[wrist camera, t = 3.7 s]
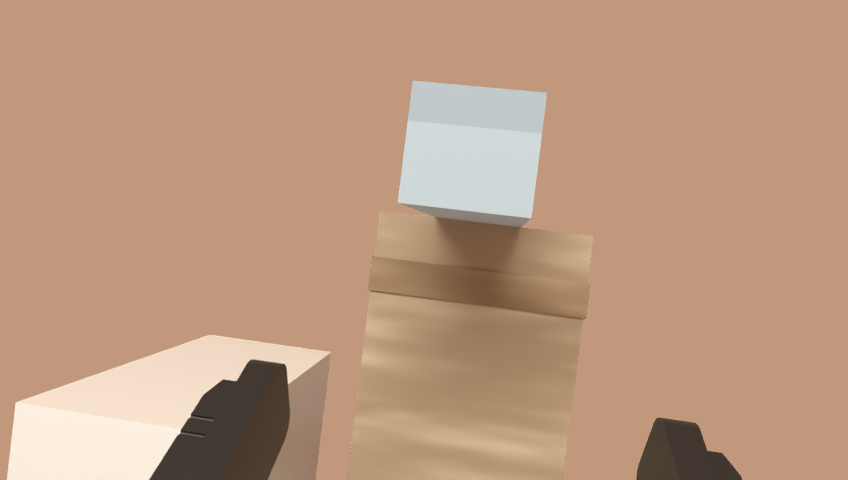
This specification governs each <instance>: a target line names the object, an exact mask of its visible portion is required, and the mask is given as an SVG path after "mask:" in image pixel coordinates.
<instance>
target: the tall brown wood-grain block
mask: <svg viewBox="0 0 848 480" xmlns="http://www.w3.org/2000/svg"><path fill="white" fill-rule="evenodd" d="M592 245H593V236H587V235H579V234H571V233H562V232H554V231H545V230H538V229H529V228H521V227H513V226H504V225H496V224H488V223H480V222H471V221H463V220H455V219H447V218H438V217H430V216H422V215H413V214H405V213H397V212H388V211H380V216H379V224H378V233H377V241H376V249H375V256H372V261H371V269H370V277H369V286H368V290H370V299H369V307H368V314H367V322H366V330H365V338H364V346H363V354H362V363H361V371H360V379H359V387H358V395H357V404H356V412H355V420H354V428H353V436H352V444H351V452H350V461H349V469H348V477H347V480H563V474H564V466H565V458H566V450H567V442H568V434H569V427H570V419H571V410H572V403H573V395H574V387H575V378H576V371H577V363H578V356H579V348H580V340H581V331H582V323H583V318H584V319H586V313H587V305H588V298H589V290H590V284H588V276H589V269H590V261H591V253H592Z"/></svg>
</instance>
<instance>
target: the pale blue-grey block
mask: <svg viewBox="0 0 848 480" xmlns="http://www.w3.org/2000/svg"><path fill="white" fill-rule="evenodd" d="M546 97H547V93H543V92H532V91H521V90H510V89H499V88H488V87H477V86H465V85H454V84H442V83H432V82H421V81H413V84H412V92H411V101H410V108H409V116H408V124H407V133H406V141H405V149H404V157H403V165H402V174H401V181H400V189H399V198H398V203H400V204H402V205H405V206H408V207H410V208H413V209H416V210H419V211H421V212H423V213H426V214H429V215H431V216H434V217H438V218H447V219H455V220H463V221H471V222H480V223H488V224H496V225H504V226H513V227H522V226H523V225H524V224H525V223H526V222H528V221H529V220H530V219H531V217H532V208H533V201H534V192H535V185H536V177H537V168H538V161H539V152H540V145H541V137H542V129H543V121H544V113H545V105H546Z"/></svg>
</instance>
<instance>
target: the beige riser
mask: <svg viewBox="0 0 848 480" xmlns="http://www.w3.org/2000/svg"><path fill="white" fill-rule="evenodd" d="M330 356H331V352H326V351H319V350H312V349H305V348H298V347H291V346H285V345H277V344H271V343H264V342H256V341H250V340H243V339H236V338H229V337H222V336H215V335H207V336H205V337H202V338H199V339H196V340H193V341H190V342H187V343H185V344H182V345H179V346H176V347H173V348H170V349H167V350H164V351H162V352H159V353H156V354H153V355H150V356H147V357H144V358H142V359H139V360H136V361H133V362H130V363H127V364H124V365H122V366H119V367H116V368H113V369H110V370H107V371H104V372H102V373H99V374H96V375H93V376H90V377H88V378H84V379H82V380H79V381H76V382H73V383H70V384H67V385H64V386H62V387H59V388H56V389H53V390H50V391H47V392H45V393H42V394H39V395H36V396H33V397H30V398H27V399H24V400H22V401H19V402H16V407H15V416H14V424H13V432H12V441H11V449H10V458H9V467H8V475H7V480H149V479H150V477H151V476H152V474H153V473H154V471H155V470H156V468H157V466H158V465H159V463H160V462H161V460H162V459H163V457H164V455H165V454H166V452H167V451H168V449H169V448H170V446H171V444H172V443H173V441H174V440H175V438H176V437H177V435H178V434H180V432H181V429H182V427H183V426H184V424H185V423H186V421H187V419H188V418H190V417H191V413H192V412H193V410H194V408H195V407H196V405H197V404H198V402H199V401H200V399H201V398H202V396H203V395H204V394H205V393H206V392H207V391H209V390H210V389H211V388H213V387H214V386H215V385H216V384H218V383H219V382H220V381H222V380H223V379H225V380H231V381H237V380H238V378H239V376H240V375H241V373H242V371H243V369H244V368H245V366H246V364H247V363H248V362H249V361H250V360H251V359H255V360H262V361H268V362H275V363H282V364H285V365H286V368H287V378H288V392H289V405H290V421H289V427H288V431H287V435H286V438H285V441H284V443H283V445H282V448H281V450H280V452H279V455H278V457H277V459H276V462H275V464H274V466H273V468H272V471H271V473H270V475H269V478H268V480H315V479H316V471H317V462H318V454H319V445H320V437H321V430H322V421H323V413H324V405H325V397H326V389H327V379H328V372H329V363H330Z"/></svg>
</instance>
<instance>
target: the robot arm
mask: <svg viewBox="0 0 848 480" xmlns="http://www.w3.org/2000/svg"><path fill="white" fill-rule="evenodd" d="M289 421H290V405H289V392H288V378H287V368H286V365H285V364H282V363H275V362H268V361H262V360H255V359H251V360H250V361H249V362H248V363H247V364H246V366H245V368H244V369H243V371H242V373H241V375H240V376H239V378H238V380H237V381H231V380H225V379H223V380H222V381H220V382H219V383H218V384H216V385H215V386H214V387H213V388H211V389H210V390H209V391H207V392H206V393H205V394H204V395H203V396H202V398H201V399H200V401H199V402H198V404H197V405H196V407H195V408H194V410H193V412H192V413H191V417H190V418H188V419H187V421H186V423H185V424H184V426H183V427H182V429H181V432H180V434H178V435H177V437H176V438H175V440H174V441H173V443H172V444H171V446H170V448H169V449H168V451H167V452H166V454H165V455H164V457H163V459H162V460H161V462H160V463H159V465H158V466H157V468H156V470H155V471H154V473H153V474H152V476H151V477H150V479H149V480H268V478H269V475H270V473H271V471H272V468H273V466H274V464H275V462H276V459H277V457H278V455H279V452H280V450H281V448H282V445H283V443H284V441H285V438H286V435H287V431H288V427H289ZM637 480H742V478H741V476H740V475H739V473H738V472H737V471H736V470H735V468H734V467H733V466H732V465H731V463H730V462H729V461H728V460H727V459H726V457H725V456H724V455H723V454H722V453H717V452H711V451H707V449H706V446H705V443H704V440H703V437H702V434H701V431H700V428H699V427H698V425H697V424H696V423H692V422H685V421H678V420H672V419H665V418H657V419H656V420H655V422H654V424H653V427H652V430H651V433H650V435H649V438H648V441H647V444H646V446H645V449H644V452H643V455H642V457H641V460H640V463H639V466H638V470H637Z"/></svg>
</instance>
